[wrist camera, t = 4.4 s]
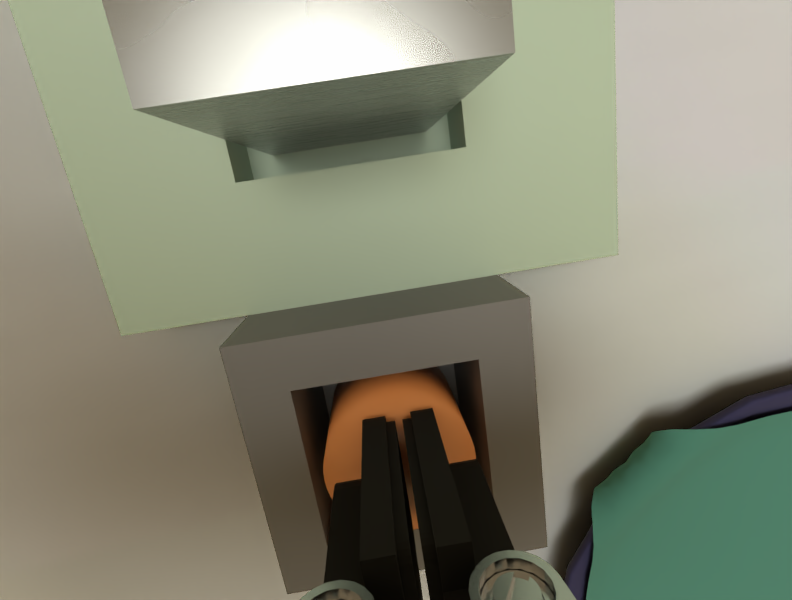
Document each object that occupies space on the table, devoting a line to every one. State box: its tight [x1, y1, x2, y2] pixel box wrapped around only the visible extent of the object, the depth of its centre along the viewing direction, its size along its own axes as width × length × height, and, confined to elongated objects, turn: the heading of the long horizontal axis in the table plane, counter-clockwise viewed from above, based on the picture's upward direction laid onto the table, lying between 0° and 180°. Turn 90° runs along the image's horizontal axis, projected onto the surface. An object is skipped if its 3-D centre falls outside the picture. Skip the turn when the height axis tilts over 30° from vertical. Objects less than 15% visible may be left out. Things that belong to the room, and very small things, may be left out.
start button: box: [323, 366, 476, 530], centre depth 12 cm, size 4×4×3 cm
